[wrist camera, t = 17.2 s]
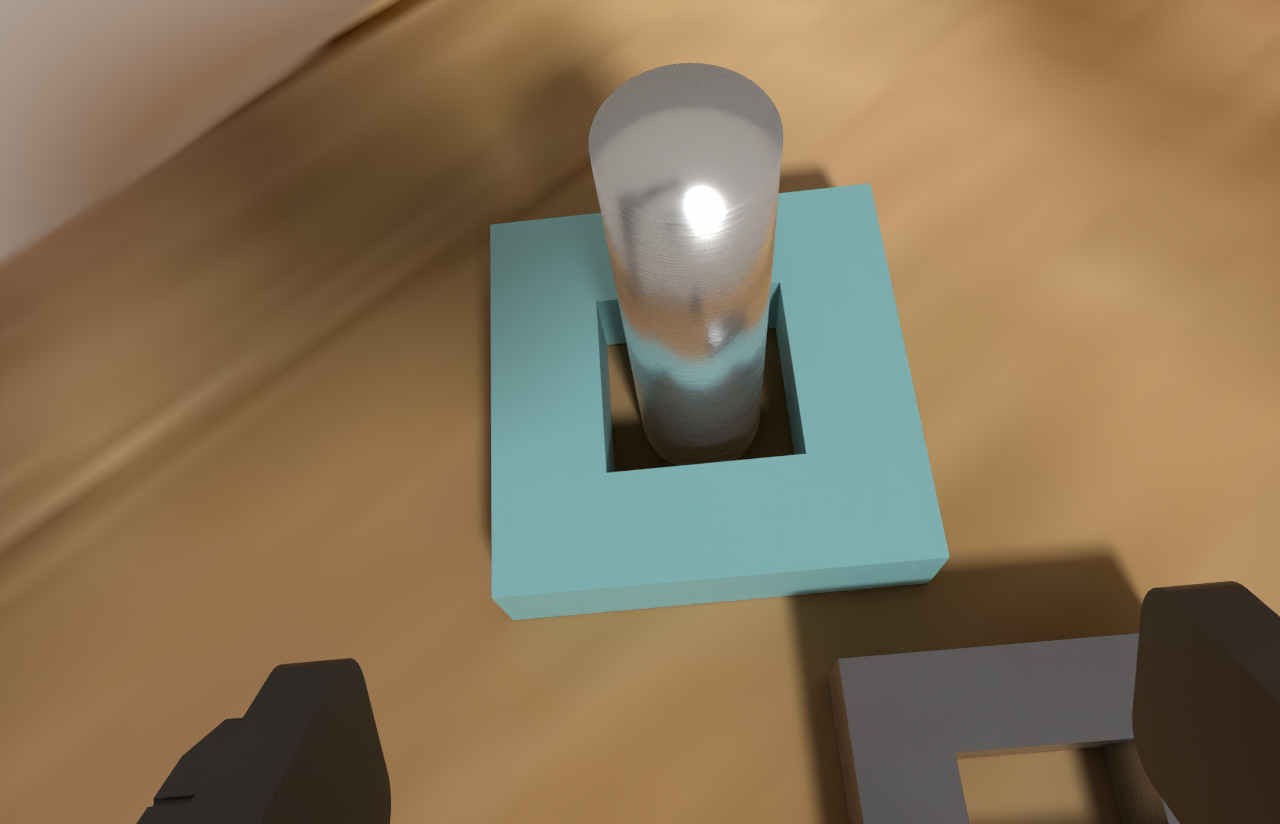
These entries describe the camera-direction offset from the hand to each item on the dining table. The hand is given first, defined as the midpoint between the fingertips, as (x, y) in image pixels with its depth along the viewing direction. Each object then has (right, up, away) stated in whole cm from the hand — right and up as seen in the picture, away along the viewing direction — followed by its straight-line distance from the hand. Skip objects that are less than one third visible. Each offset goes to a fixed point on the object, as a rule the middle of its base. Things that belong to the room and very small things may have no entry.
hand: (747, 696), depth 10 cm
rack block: (+1, +3, +22) cm, 23 cm away
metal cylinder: (+1, +3, +22) cm, 22 cm away
